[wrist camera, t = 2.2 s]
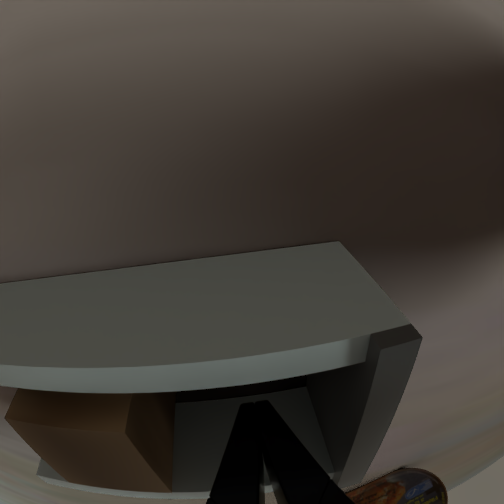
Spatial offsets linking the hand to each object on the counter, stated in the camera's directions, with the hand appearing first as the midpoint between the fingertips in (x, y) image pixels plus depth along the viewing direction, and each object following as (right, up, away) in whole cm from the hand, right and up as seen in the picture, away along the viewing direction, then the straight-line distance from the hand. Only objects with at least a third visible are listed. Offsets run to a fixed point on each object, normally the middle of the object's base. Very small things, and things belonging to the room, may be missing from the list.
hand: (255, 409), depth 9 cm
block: (-5, +1, +2) cm, 6 cm away
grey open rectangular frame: (-3, +1, +2) cm, 4 cm away
